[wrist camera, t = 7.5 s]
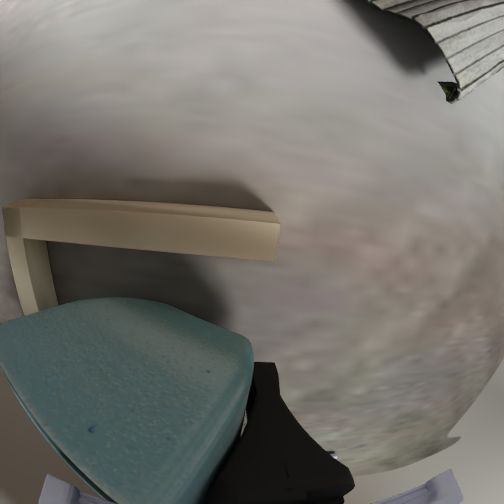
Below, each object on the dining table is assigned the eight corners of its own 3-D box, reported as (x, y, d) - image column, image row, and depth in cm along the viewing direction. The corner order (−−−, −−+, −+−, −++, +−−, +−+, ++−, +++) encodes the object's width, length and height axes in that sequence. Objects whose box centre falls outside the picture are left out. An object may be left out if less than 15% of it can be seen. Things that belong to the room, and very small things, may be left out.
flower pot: (269, 437, 13) (186, 556, 5) (149, 377, 16) (54, 451, 8) (306, 316, 10) (150, 530, 2) (138, 257, 13) (-20, 323, 6)
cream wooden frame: (241, 426, 18) (241, 447, 16) (77, 398, 16) (69, 415, 15) (273, 211, 12) (280, 224, 10) (25, 198, 11) (2, 207, 9)
